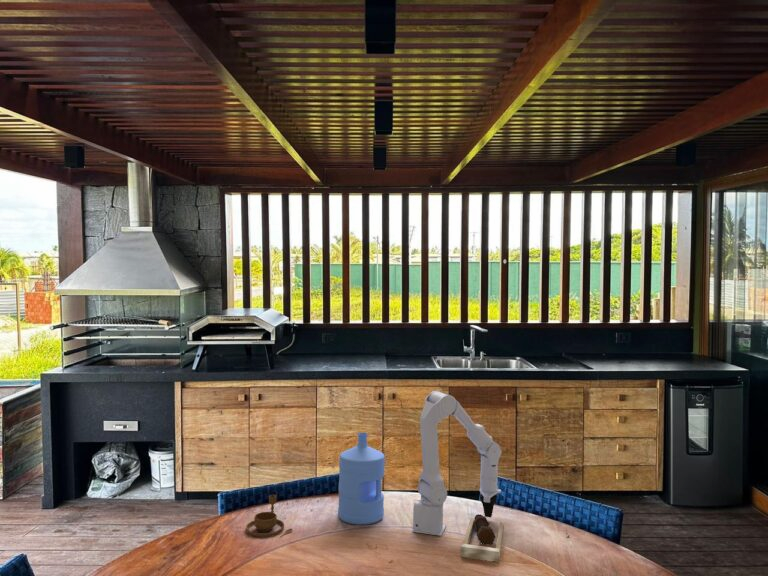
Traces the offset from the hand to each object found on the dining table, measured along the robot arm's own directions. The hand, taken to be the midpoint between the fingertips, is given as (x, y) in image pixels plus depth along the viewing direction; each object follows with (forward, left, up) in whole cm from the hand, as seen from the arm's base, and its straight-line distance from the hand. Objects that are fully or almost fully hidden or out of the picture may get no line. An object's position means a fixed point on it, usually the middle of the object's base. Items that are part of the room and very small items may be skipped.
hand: (488, 516), depth 183 cm
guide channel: (0, -17, -1) cm, 17 cm away
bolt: (-1, -11, -2) cm, 11 cm away
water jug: (-42, -10, -2) cm, 43 cm away
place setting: (-67, -26, -2) cm, 72 cm away
